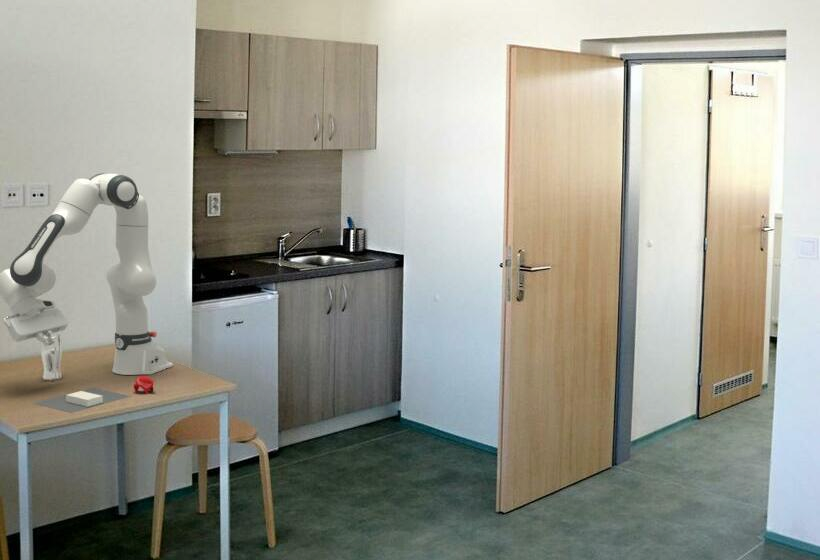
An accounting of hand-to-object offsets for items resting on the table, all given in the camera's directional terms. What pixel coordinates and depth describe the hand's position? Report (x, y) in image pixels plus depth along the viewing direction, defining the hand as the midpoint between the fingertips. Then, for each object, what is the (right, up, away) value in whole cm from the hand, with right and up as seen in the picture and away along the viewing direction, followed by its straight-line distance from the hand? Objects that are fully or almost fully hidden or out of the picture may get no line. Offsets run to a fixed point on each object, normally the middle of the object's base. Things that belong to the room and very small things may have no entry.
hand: (50, 344), depth 335 cm
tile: (+10, -16, -7) cm, 20 cm away
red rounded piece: (+29, -17, +6) cm, 34 cm away
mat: (+12, -18, -6) cm, 23 cm away
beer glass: (-7, -13, +23) cm, 27 cm away
